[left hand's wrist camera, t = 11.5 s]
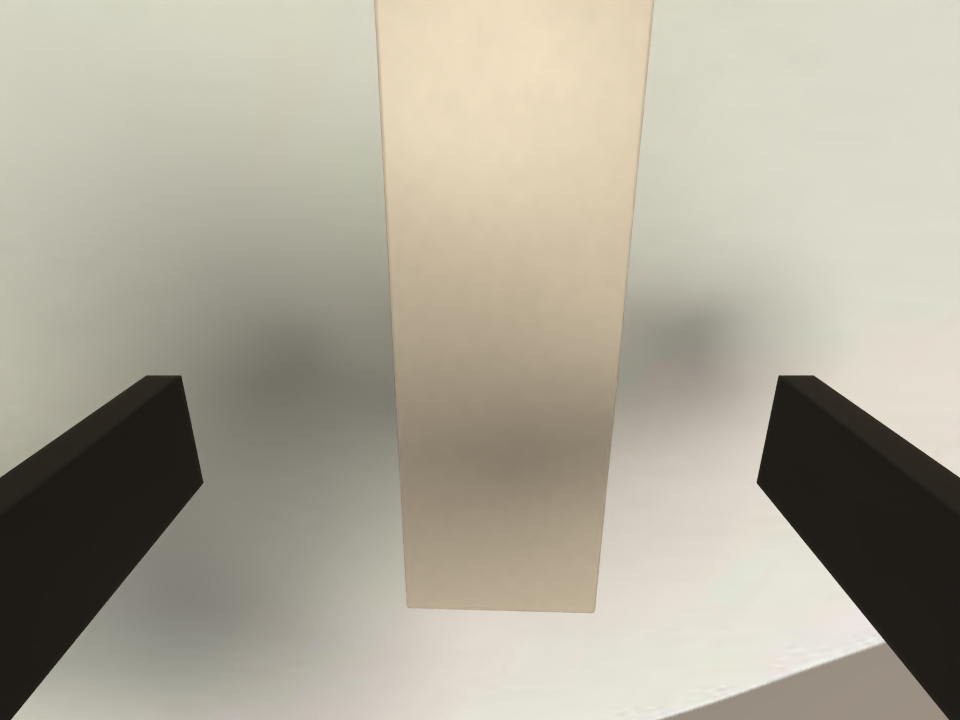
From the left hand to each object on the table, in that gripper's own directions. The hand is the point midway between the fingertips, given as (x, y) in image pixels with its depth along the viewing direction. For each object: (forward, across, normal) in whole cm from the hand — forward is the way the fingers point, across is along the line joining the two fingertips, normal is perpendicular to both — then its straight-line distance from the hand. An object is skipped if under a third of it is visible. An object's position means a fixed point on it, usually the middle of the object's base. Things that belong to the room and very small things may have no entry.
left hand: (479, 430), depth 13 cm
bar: (+9, -1, -19) cm, 21 cm away
